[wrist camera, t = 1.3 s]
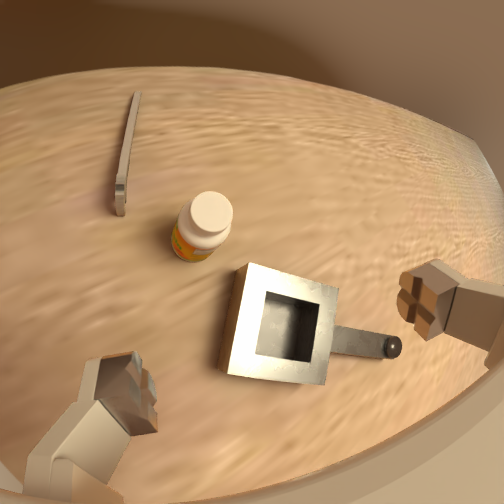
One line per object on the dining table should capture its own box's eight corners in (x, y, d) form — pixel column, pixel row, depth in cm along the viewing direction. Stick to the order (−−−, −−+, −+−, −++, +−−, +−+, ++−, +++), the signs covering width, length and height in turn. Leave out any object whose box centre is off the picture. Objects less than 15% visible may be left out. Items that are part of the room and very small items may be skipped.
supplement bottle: (167, 222, 35) (178, 185, 26) (210, 217, 37) (234, 182, 28) (174, 266, 34) (187, 243, 25) (218, 259, 36) (246, 235, 27)
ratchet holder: (216, 368, 32) (227, 373, 28) (236, 270, 36) (249, 262, 32) (381, 384, 40) (401, 387, 36) (390, 311, 44) (411, 308, 40)
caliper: (125, 217, 33) (123, 196, 27) (117, 217, 33) (113, 195, 27) (141, 93, 38) (145, 63, 32) (134, 93, 37) (137, 63, 32)
